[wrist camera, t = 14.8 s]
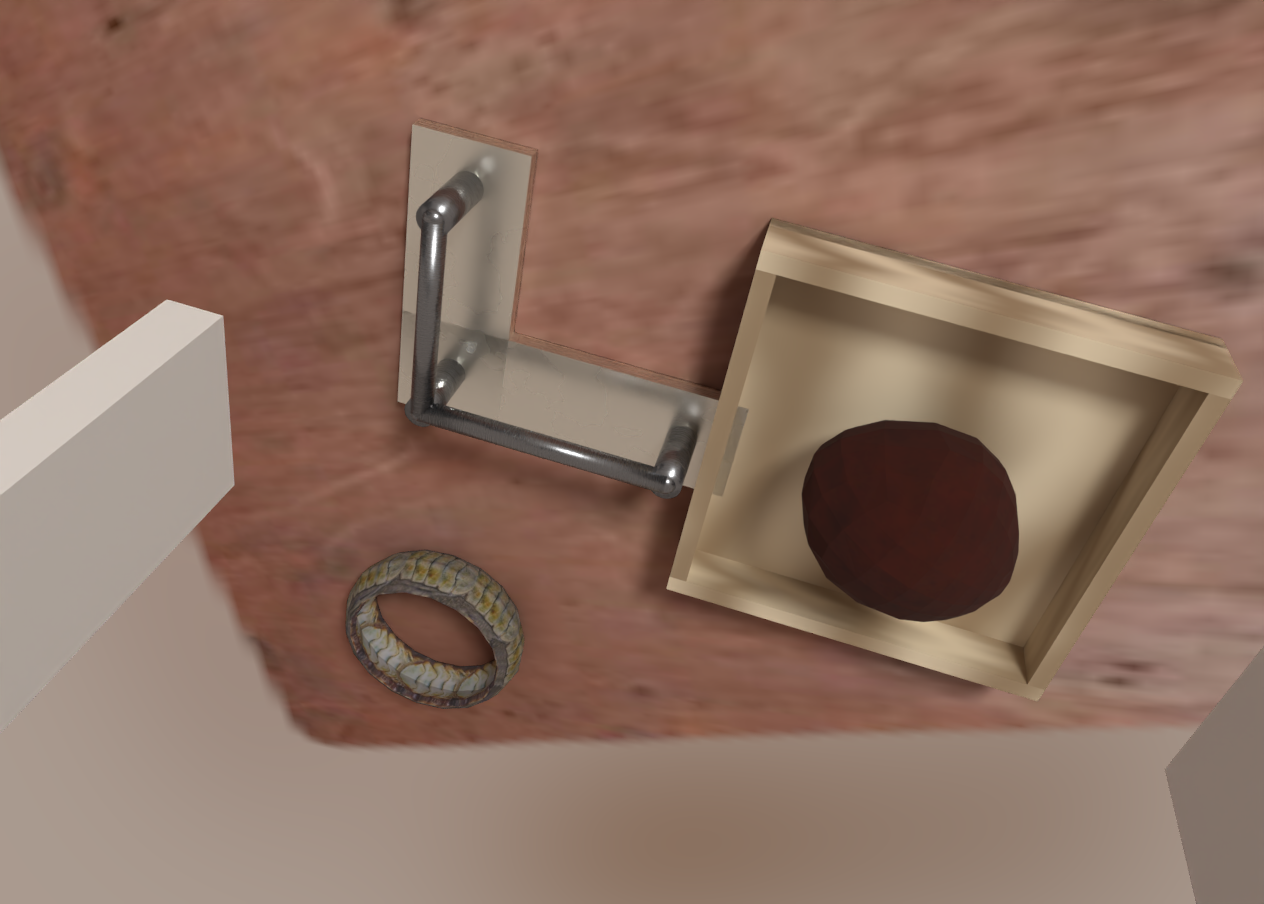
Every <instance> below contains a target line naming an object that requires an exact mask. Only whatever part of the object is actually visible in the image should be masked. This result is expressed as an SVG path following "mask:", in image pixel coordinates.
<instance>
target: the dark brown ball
mask: <svg viewBox="0 0 1264 904" xmlns="http://www.w3.org/2000/svg"><path fill="white" fill-rule="evenodd" d="M802 508H803V523H804V529H805V533H806V538H807V542H808V545H809V547H810V549H811V551H812V553H813V554H814V556H815V558H816V560H817V562H818V564H819V565H820V567H821V569H822V571H823V573H824V575H825V577H826V578H827V579H828V580H829V581H831V582H832V583H833V584H834V585H836V586H837V587H838V588H840V589H841V590H842V591H843V592H845V593H846V594H847V595H848V596H850V597H851V598H852V599H853V600H855V601H856V602H857V603H859V604H862V605H864V606H867V607H869V608H872V609H874V610H877V611H879V612H882V613H884V614H887V615H889V616H892V617H894V618H897V619H900V620H909V621H918V622H930V621H942V620H948V619H952V618H956V617H959V616H963V615H966V614H969V613H972V612H975V611H976V610H977V609H979V608H980V607H982V606H983V605H985V604H986V603H988V602H989V601H991V600H993V599H994V598H996V597H997V596H999V595H1001V593H1002V592H1003V591H1004V589H1005V588H1006V587H1007V585H1008V584H1009V582H1010V580H1011V577H1012V574H1013V571H1014V568H1015V564H1016V560H1017V557H1018V553H1019V525H1018V513H1017V503H1016V494H1015V491H1014V489H1013V486H1012V484H1011V481H1010V479H1009V476H1008V474H1007V471H1006V469H1005V468H1004V466H1003V465H1002V463H1001V462H1000V461H999V459H998V458H997V457H996V456H995V455H994V454H993V453H992V452H991V451H990V450H989V449H988V448H987V447H986V446H985V445H984V444H983V443H982V442H981V441H980V440H979V439H978V438H976V437H973V436H971V435H968V434H965V433H962V432H960V431H957V430H954V429H952V428H949V427H946V426H943V425H941V424H938V423H934V422H915V421H896V420H882V421H878V422H874V423H870V424H866V425H861V426H857V427H853V428H850V429H847V430H844V431H843V432H841V433H839V434H838V435H836V436H835V437H833V438H832V439H830V440H828V441H827V442H825V443H824V444H822V445H821V446H820V447H819V449H818V450H817V451H816V452H815V454H814V455H813V458H812V460H811V463H810V465H809V468H808V471H807V473H806V476H805V478H804V483H803V488H802Z"/></svg>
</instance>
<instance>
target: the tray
mask: <svg viewBox="0 0 1264 904" xmlns="http://www.w3.org/2000/svg"><path fill="white" fill-rule="evenodd" d="M1242 382H1243V380H1242V378H1241V376H1240V374H1239V372H1238V370H1237V368H1236V366H1235V364H1234V362H1233V360H1232V358H1231V356H1230V354H1229V352H1228V350H1227V348H1226V346H1225V344H1224V342H1223V340H1222V339H1220V338H1216V337H1212V336H1209V335H1205V334H1201V333H1198V332H1194V331H1190V330H1186V329H1183V328H1179V327H1175V326H1172V325H1168V324H1164V323H1160V322H1157V321H1153V320H1149V319H1146V318H1142V317H1138V316H1134V315H1131V314H1127V313H1123V312H1120V311H1116V310H1112V309H1108V308H1105V307H1101V306H1097V305H1094V304H1090V303H1086V302H1082V301H1079V300H1075V299H1071V298H1068V297H1064V296H1060V295H1056V294H1053V293H1049V292H1045V291H1042V290H1038V289H1034V288H1030V287H1027V286H1023V285H1019V284H1016V283H1012V282H1008V281H1004V280H1001V279H997V278H993V277H990V276H986V275H982V274H978V273H975V272H971V271H967V270H964V269H960V268H956V267H952V266H949V265H945V264H941V263H938V262H934V261H930V260H926V259H923V258H919V257H915V256H912V255H908V254H904V253H900V252H897V251H893V250H889V249H886V248H882V247H878V246H874V245H871V244H867V243H863V242H860V241H856V240H852V239H848V238H845V237H841V236H837V235H834V234H830V233H826V232H822V231H819V230H815V229H811V228H808V227H804V226H800V225H796V224H793V223H789V222H785V221H782V220H778V219H774V218H772V219H771V222H770V225H769V228H768V231H767V234H766V237H765V240H764V243H763V246H762V249H761V252H760V256H759V259H758V263H757V267H756V270H755V274H754V277H753V281H752V284H751V288H750V292H749V295H748V299H747V302H746V306H745V309H744V313H743V317H742V320H741V324H740V327H739V331H738V334H737V338H736V342H735V345H734V349H733V352H732V356H731V359H730V363H729V367H728V370H727V374H726V377H725V381H724V384H723V388H722V392H721V395H720V399H719V402H718V406H717V409H716V413H715V417H714V420H713V424H712V427H711V431H710V434H709V438H708V442H707V445H706V449H705V452H704V456H703V459H702V463H701V467H700V470H699V474H698V477H697V481H696V484H695V488H694V492H693V495H692V499H691V502H690V506H689V509H688V513H687V517H686V520H685V524H684V527H683V531H682V534H681V538H680V542H679V545H678V549H677V552H676V556H675V559H674V563H673V567H672V570H671V574H670V577H669V581H668V584H667V588H666V589H668V590H672V591H675V592H678V593H681V594H685V595H688V596H691V597H695V598H698V599H701V600H705V601H708V602H711V603H714V604H718V605H721V606H724V607H728V608H731V609H734V610H738V611H741V612H744V613H747V614H751V615H754V616H757V617H761V618H764V619H767V620H771V621H774V622H777V623H780V624H784V625H787V626H790V627H794V628H797V629H800V630H804V631H807V632H810V633H813V634H817V635H820V636H823V637H827V638H830V639H833V640H837V641H840V642H843V643H846V644H850V645H853V646H856V647H860V648H863V649H866V650H869V651H873V652H876V653H879V654H883V655H886V656H889V657H893V658H896V659H899V660H902V661H906V662H909V663H912V664H916V665H919V666H922V667H926V668H929V669H932V670H935V671H939V672H942V673H945V674H949V675H952V676H955V677H959V678H962V679H965V680H968V681H972V682H975V683H978V684H982V685H985V686H988V687H992V688H995V689H998V690H1001V691H1005V692H1008V693H1011V694H1015V695H1018V696H1021V697H1025V698H1028V699H1031V700H1034V701H1038V700H1039V699H1040V697H1041V695H1042V694H1043V692H1044V691H1045V689H1046V688H1047V686H1048V685H1049V683H1050V681H1051V680H1052V678H1053V677H1054V675H1055V674H1056V672H1057V671H1058V669H1059V667H1060V666H1061V664H1062V663H1063V661H1064V660H1065V658H1066V656H1067V655H1068V653H1069V652H1070V650H1071V649H1072V647H1073V646H1074V644H1075V642H1076V641H1077V639H1078V638H1079V636H1080V635H1081V633H1082V632H1083V630H1084V628H1085V627H1086V625H1087V624H1088V622H1089V621H1090V619H1091V618H1092V616H1093V614H1094V613H1095V611H1096V610H1097V608H1098V607H1099V605H1100V603H1101V602H1102V600H1103V599H1104V597H1105V596H1106V594H1107V593H1108V591H1109V589H1110V588H1111V586H1112V585H1113V583H1114V582H1115V580H1116V579H1117V577H1118V575H1119V574H1120V572H1121V571H1122V569H1123V568H1124V566H1125V565H1126V563H1127V561H1128V560H1129V558H1130V557H1131V555H1132V554H1133V552H1134V550H1135V549H1136V547H1137V546H1138V544H1139V543H1140V541H1141V540H1142V538H1143V536H1144V535H1145V533H1146V532H1147V530H1148V529H1149V527H1150V526H1151V524H1152V522H1153V521H1154V519H1155V518H1156V516H1157V515H1158V513H1159V512H1160V510H1161V508H1162V507H1163V505H1164V504H1165V502H1166V501H1167V499H1168V497H1169V496H1170V494H1171V493H1172V491H1173V490H1174V488H1175V487H1176V485H1177V483H1178V482H1179V480H1180V479H1181V477H1182V476H1183V474H1184V473H1185V471H1186V469H1187V468H1188V466H1189V465H1190V463H1191V462H1192V460H1193V459H1194V457H1195V455H1196V454H1197V452H1198V451H1199V449H1200V448H1201V446H1202V444H1203V443H1204V441H1205V440H1206V438H1207V437H1208V435H1209V434H1210V432H1211V430H1212V429H1213V427H1214V426H1215V424H1216V423H1217V421H1218V420H1219V418H1220V416H1221V415H1222V413H1223V412H1224V410H1225V409H1226V407H1227V406H1228V404H1229V402H1230V401H1231V399H1232V398H1233V396H1234V395H1235V393H1236V391H1237V390H1238V388H1239V387H1240V385H1241V384H1242ZM738 406H740V407H743V408H746V409H749V411H748V410H746V409H745V410H746V411H747V412H746V413H748V414H747V415H746V416H745V417H746V420H745V424H744V427H743V426H741V424H742V422H741V424H740V418H743V416H744V415H745V414H746V413H745V414H744V415H743V416H741V417H739V416H740V415H742V414H741V413H740V412H741V411H739V410H740V409H742V408H740V407H738ZM737 408H738V409H737ZM736 412H737V413H738V414H740V415H737V413H736ZM735 414H736V416H735ZM736 417H737V418H738V417H739V420H737V421H739V422H738V423H736V422H737V421H736V419H737V418H736ZM745 417H744V418H745ZM735 418H736V419H735ZM744 418H743V419H744ZM734 419H735V420H734ZM743 419H742V420H743ZM742 420H741V421H742ZM882 420H896V421H915V422H934V423H938V424H941V425H943V426H946V427H949V428H952V429H954V430H957V431H960V432H962V433H965V434H968V435H971V436H973V437H976V438H978V439H979V440H980V441H981V442H982V443H983V444H984V445H985V446H986V447H987V448H988V449H989V450H990V451H991V452H992V453H993V454H994V455H995V456H996V457H997V458H998V459H999V461H1000V462H1001V463H1002V465H1003V466H1004V468H1005V469H1006V471H1007V474H1008V476H1009V479H1010V481H1011V484H1012V486H1013V489H1014V491H1015V494H1016V503H1017V513H1018V525H1019V553H1018V557H1017V560H1016V564H1015V568H1014V571H1013V574H1012V577H1011V580H1010V582H1009V584H1008V585H1007V587H1006V588H1005V589H1004V591H1003V592H1002V593H1001V595H999V596H997V597H996V598H994V599H993V600H991V601H989V602H988V603H986V604H985V605H983V606H982V607H980V608H979V609H977V610H976V611H975V612H972V613H969V614H966V615H963V616H959V617H956V618H952V619H948V620H942V621H930V622H918V621H909V620H900V619H897V618H894V617H892V616H889V615H887V614H884V613H882V612H879V611H877V610H874V609H872V608H869V607H867V606H864V605H862V604H859V603H857V602H856V601H855V600H853V599H852V598H851V597H850V596H848V595H847V594H846V593H845V592H843V591H842V590H841V589H840V588H838V587H837V586H836V585H834V584H833V583H832V582H831V581H829V580H828V579H827V578H826V577H825V575H824V573H823V571H822V569H821V567H820V565H819V564H818V562H817V560H816V558H815V556H814V554H813V553H812V551H811V549H810V547H809V545H808V542H807V538H806V533H805V529H804V523H803V508H802V488H803V483H804V478H805V476H806V473H807V471H808V468H809V465H810V463H811V460H812V458H813V455H814V454H815V452H816V451H817V450H818V449H819V447H820V446H821V445H822V444H824V443H825V442H827V441H828V440H830V439H832V438H833V437H835V436H836V435H838V434H839V433H841V432H843V431H844V430H847V429H850V428H853V427H857V426H861V425H866V424H870V423H874V422H878V421H882ZM733 421H734V423H733ZM743 421H744V420H743ZM735 423H736V424H737V425H738V424H740V425H738V426H740V427H739V428H738V426H737V425H736V426H735ZM733 425H734V426H735V427H733ZM741 427H743V429H742V428H741ZM734 428H735V429H737V428H738V429H737V430H736V431H735V430H733V429H734ZM740 429H741V430H742V432H741V433H740ZM731 430H733V432H734V431H735V433H736V432H737V431H738V433H737V434H739V433H740V434H739V437H740V436H741V437H740V438H739V437H738V436H737V435H736V434H734V435H732V431H731ZM729 435H731V436H734V438H735V439H736V438H737V439H736V440H734V438H733V437H732V438H731V439H732V440H731V439H729V440H730V442H731V441H733V443H734V444H732V443H730V442H729V440H728V438H729V437H730V436H729ZM737 440H738V441H739V442H738V441H737ZM734 441H737V442H738V443H737V442H734ZM727 442H729V443H727ZM736 443H737V445H738V447H737V448H736V447H735V446H734V445H735V444H736ZM728 444H729V445H730V446H731V445H732V446H731V447H730V446H729V445H728ZM737 445H736V446H737ZM733 446H734V447H733ZM726 447H727V448H728V447H730V449H731V448H732V447H733V448H732V449H731V450H730V449H729V448H728V450H727V449H726ZM734 448H736V449H735V450H734ZM732 450H733V451H732ZM725 451H726V452H725ZM727 451H729V452H728V453H727ZM734 451H736V452H734ZM732 452H733V453H734V455H731V454H733V453H732ZM725 453H727V454H725ZM729 453H730V454H729ZM724 454H725V455H726V457H725V455H724ZM728 454H729V455H730V456H729V458H730V459H729V458H728V457H727V455H728ZM723 455H724V456H723ZM724 457H725V460H726V461H724V459H723V458H724ZM733 457H734V458H733ZM731 458H732V459H731ZM722 460H723V461H722ZM729 461H731V462H732V463H730V462H729ZM725 463H726V464H730V466H731V467H730V466H728V465H725ZM720 465H721V467H720ZM724 465H725V466H724ZM723 466H724V468H725V469H724V468H723ZM726 466H728V467H726ZM729 468H730V469H729ZM727 469H728V470H727ZM723 470H724V471H723ZM726 470H727V471H726ZM729 470H730V471H729ZM721 471H722V473H721ZM725 471H726V472H725ZM728 472H729V473H728ZM726 473H727V474H726ZM721 474H722V475H721ZM725 474H726V475H725ZM718 475H719V476H720V475H721V476H720V477H719V476H718ZM724 475H725V476H724ZM727 475H728V477H727ZM718 477H719V478H718ZM721 477H722V479H721ZM725 477H726V479H725ZM727 478H728V480H727ZM716 479H718V480H716ZM720 479H721V480H720ZM719 480H720V481H719ZM723 480H724V481H723ZM721 481H722V482H721ZM716 482H717V483H716ZM719 482H721V483H719ZM726 482H727V483H726ZM716 484H717V485H718V486H719V485H720V486H719V487H718V486H717V485H716ZM725 484H726V485H725ZM722 485H724V486H725V487H723V486H722ZM714 486H715V487H714ZM716 486H717V487H716ZM721 487H723V488H721ZM718 488H720V489H718ZM721 489H723V490H724V492H722V491H723V490H721ZM714 490H715V491H716V490H717V491H716V493H715V491H714ZM719 491H720V492H719ZM718 492H719V493H718ZM717 493H718V494H717ZM717 495H718V496H717ZM721 495H722V496H721Z"/></svg>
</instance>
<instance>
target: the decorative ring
mask: <svg viewBox="0 0 1264 904" xmlns="http://www.w3.org/2000/svg"><path fill="white" fill-rule="evenodd" d="M403 592H404V593H409V594H414V595H419V596H424V597H429V598H432V599H434V600H436V601H438V602H440V603H442V604H444V605H447V606H449V607H451V608H453V609H455V610H457V611H458V612H459V613H460V614H462V615H463V616H464V617H465V618H467V619H468V620H469V621H470V622H471V623H473V624H474V625H475V626H476V627H478V629H479V630H480V631H481V633H482V634H483V636H484V637H485V638H486V640H487V641H488V643H489V644H490V646H491V647H492V649H493V653H494V657H495V660H493V661H491V662H489V663H486V664H484V665H480V666H461V667H460V666H455V665H451V664H446V663H441V662H437V661H435V660H433V659H431V658H428V657H426V656H424V655H422V654H420V653H418V652H416V651H414V650H413V649H412V648H410V647H409V646H408V645H407V644H405V643H404V642H403V641H402V640H400V639H399V638H398V637H397V636H396V635H395V634H394V633H393V631H392V630H391V629H390V627H389V626H388V625H387V623H386V622H385V621H384V619H383V618H382V615H381V612H380V609H379V606H378V603H377V600H376V597H377V596H378V595H380V594H391V593H403ZM346 634H347V637H348V639H349V642H350V645H351V647H352V650H353V653H354V655H355V656H356V657H357V658H358V660H359V661H360V662H361V664H362V665H363V666H364V667H365V669H366V670H367V671H368V672H369V674H370V675H372V676H373V677H374V678H376V679H377V680H378V681H379V682H381V683H382V684H383V685H385V686H386V687H387V688H388V689H390V690H391V691H393V692H395V693H397V694H399V695H401V696H404V697H406V698H408V699H410V700H412V701H414V702H416V703H420V704H425V705H429V706H433V707H438V708H442V709H448V708H468V707H471V706H474V705H476V704H479V703H481V702H484V701H487V700H489V699H490V698H492V697H494V696H495V695H497V694H498V693H499V692H500V691H501V690H502V689H503V688H504V687H505V685H506V684H507V683H508V682H509V681H510V680H511V679H512V678H513V676H514V675H515V674H516V673H517V672H518V669H519V665H520V660H521V656H522V652H523V646H524V635H523V631H522V627H521V623H520V618H519V614H518V610H517V607H516V606H515V604H514V603H513V602H512V600H511V599H510V597H509V596H508V594H507V593H506V591H505V590H504V588H503V587H502V586H501V585H500V584H499V583H497V582H496V581H495V580H494V579H493V578H492V577H490V576H489V575H488V574H487V573H486V572H484V571H483V570H482V569H481V568H479V567H477V566H475V565H473V564H471V563H469V562H466V561H464V560H462V559H460V558H458V557H456V556H454V555H449V554H444V553H439V552H434V551H429V550H419V551H408V552H400V553H397V554H394V555H391V556H389V557H388V558H386V559H384V560H382V561H380V562H378V563H376V564H374V565H372V566H371V567H369V568H368V569H367V570H366V571H365V572H363V574H362V575H361V576H360V578H359V579H358V581H357V582H356V584H355V585H354V587H353V588H352V590H351V592H350V595H349V597H348V600H347V611H346Z"/></svg>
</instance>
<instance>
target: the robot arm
mask: <svg viewBox="0 0 1264 904" xmlns="http://www.w3.org/2000/svg"><path fill="white" fill-rule="evenodd" d="M233 486H234V471H233V456H232V441H231V426H230V411H229V396H228V381H227V365H226V350H225V335H224V320H223V316H222V315H219V314H215V313H212V312H208V311H205V310H201V309H198V308H194V307H191V306H188V305H184V304H181V303H177V302H174V301H170V300H166V301H164V302H163V303H161V304H160V305H159V306H157V307H156V308H155V309H153V310H152V311H150V312H149V313H148V314H146V315H145V316H144V317H142V318H141V319H139V320H138V321H137V322H135V323H134V324H132V325H131V326H130V327H128V328H127V329H126V330H124V331H123V332H121V333H120V334H119V335H117V336H116V337H115V338H113V339H112V340H110V341H109V342H108V343H106V344H105V345H103V346H102V347H101V348H99V349H98V350H97V351H95V352H94V353H92V354H91V355H90V356H88V357H87V358H85V359H84V360H83V361H81V362H80V363H79V364H77V365H76V366H74V367H73V368H72V369H70V370H69V371H68V372H66V373H65V374H63V375H62V376H61V377H59V378H58V379H57V380H55V381H54V382H53V383H51V384H50V385H48V386H47V387H45V388H44V389H43V390H41V391H40V392H39V393H37V394H36V395H35V396H33V397H32V398H30V399H29V400H27V401H26V402H25V403H24V404H22V405H21V406H19V407H18V408H16V409H15V410H14V411H12V412H11V413H10V414H8V415H7V416H5V417H4V418H3V419H1V420H0V733H1V732H2V731H3V730H4V729H5V728H6V727H7V726H8V725H9V724H10V723H11V722H12V721H13V720H14V718H16V716H17V715H18V714H19V713H20V712H21V711H22V710H23V709H24V708H25V707H26V706H27V705H28V704H29V703H30V702H31V700H32V699H33V698H34V697H35V696H36V695H37V694H38V693H39V692H40V691H41V690H42V689H43V688H44V687H45V685H47V684H48V682H49V681H50V680H51V679H52V678H53V677H54V676H55V675H56V674H57V673H58V672H59V671H60V670H61V669H62V668H63V666H64V665H65V664H66V663H67V662H68V661H69V660H70V659H71V658H72V657H73V656H74V655H75V654H76V653H77V652H78V651H79V649H80V648H81V647H82V646H83V645H84V644H85V643H86V642H87V641H88V640H89V639H90V638H91V637H92V636H93V635H94V633H96V631H97V630H98V629H99V628H100V627H101V626H102V625H103V624H104V623H105V622H106V621H107V620H108V619H109V617H111V616H112V614H113V613H114V612H115V611H116V610H117V609H118V608H119V607H120V606H121V605H122V604H123V603H124V602H125V601H126V600H127V598H128V597H129V596H130V595H131V594H132V593H133V592H134V591H135V590H136V589H137V588H138V587H139V586H140V585H141V584H142V583H143V582H144V580H145V579H146V578H147V577H148V576H149V575H150V574H151V573H152V572H153V571H154V570H155V569H156V568H157V567H158V566H159V564H160V563H161V562H162V561H163V560H164V559H165V558H166V557H167V556H168V555H169V554H170V553H171V552H172V551H173V550H174V548H176V547H177V545H178V544H179V543H180V542H181V541H182V540H183V539H184V538H185V537H186V536H187V535H188V534H189V533H190V532H191V531H192V530H193V528H194V527H195V526H196V525H197V524H198V523H199V522H200V521H201V520H202V519H203V518H204V517H205V516H206V515H207V514H208V513H209V511H210V510H211V509H212V508H213V507H214V506H215V505H216V504H217V503H218V502H219V501H220V500H221V499H222V498H223V497H224V496H225V494H226V493H227V492H228V491H229V490H230V489H231V488H232V487H233ZM1165 772H1166V776H1167V781H1168V785H1169V789H1170V793H1171V798H1172V802H1173V806H1174V811H1175V815H1176V819H1177V823H1178V828H1179V832H1180V836H1181V841H1182V845H1183V849H1184V853H1185V858H1186V861H1187V866H1188V870H1189V875H1190V879H1191V883H1192V888H1193V892H1194V896H1195V901H1196V904H1264V647H1263V648H1262V649H1261V650H1260V652H1259V653H1258V654H1257V655H1256V657H1255V658H1254V659H1253V660H1252V662H1251V663H1250V664H1249V665H1248V667H1247V668H1246V669H1245V670H1244V672H1243V673H1242V674H1241V675H1240V677H1239V678H1238V679H1237V680H1236V682H1235V683H1234V684H1233V685H1232V686H1231V688H1230V689H1229V690H1228V691H1227V693H1226V694H1225V695H1224V696H1223V698H1222V699H1221V700H1220V701H1219V703H1218V704H1217V705H1216V706H1215V708H1214V709H1213V710H1212V711H1211V713H1210V714H1209V715H1208V716H1207V718H1206V719H1205V720H1204V721H1203V723H1202V724H1201V725H1200V726H1199V728H1198V729H1197V730H1196V731H1195V732H1194V734H1193V735H1192V736H1191V737H1190V739H1189V740H1188V741H1187V742H1186V744H1185V745H1184V746H1183V747H1182V749H1181V750H1180V751H1179V753H1178V754H1177V755H1176V756H1175V757H1174V759H1173V760H1172V761H1171V762H1170V764H1169V765H1168V766H1167V767H1166V769H1165Z"/></svg>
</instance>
